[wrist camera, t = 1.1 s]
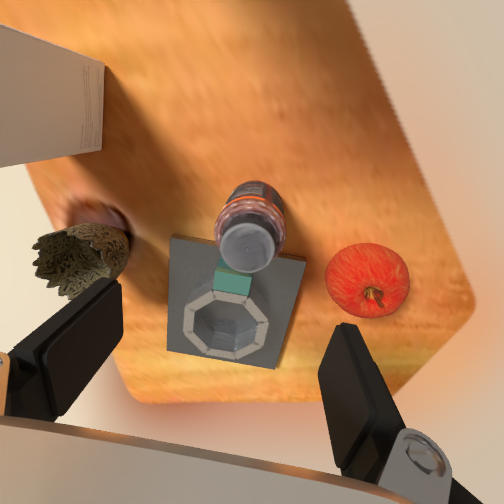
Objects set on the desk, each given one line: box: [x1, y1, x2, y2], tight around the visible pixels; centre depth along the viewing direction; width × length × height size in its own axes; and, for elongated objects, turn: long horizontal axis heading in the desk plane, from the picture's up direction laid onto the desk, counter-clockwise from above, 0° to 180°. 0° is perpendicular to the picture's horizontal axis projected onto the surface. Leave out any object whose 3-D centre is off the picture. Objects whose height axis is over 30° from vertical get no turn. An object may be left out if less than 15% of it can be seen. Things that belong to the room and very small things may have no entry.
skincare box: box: [0, 23, 105, 168], centre depth 18 cm, size 8×6×15 cm
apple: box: [325, 243, 410, 318], centre depth 27 cm, size 8×8×8 cm
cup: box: [32, 223, 129, 300], centre depth 27 cm, size 8×7×8 cm
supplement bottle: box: [214, 181, 286, 273], centre depth 23 cm, size 6×6×11 cm
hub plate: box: [167, 234, 307, 370], centre depth 32 cm, size 18×16×4 cm
